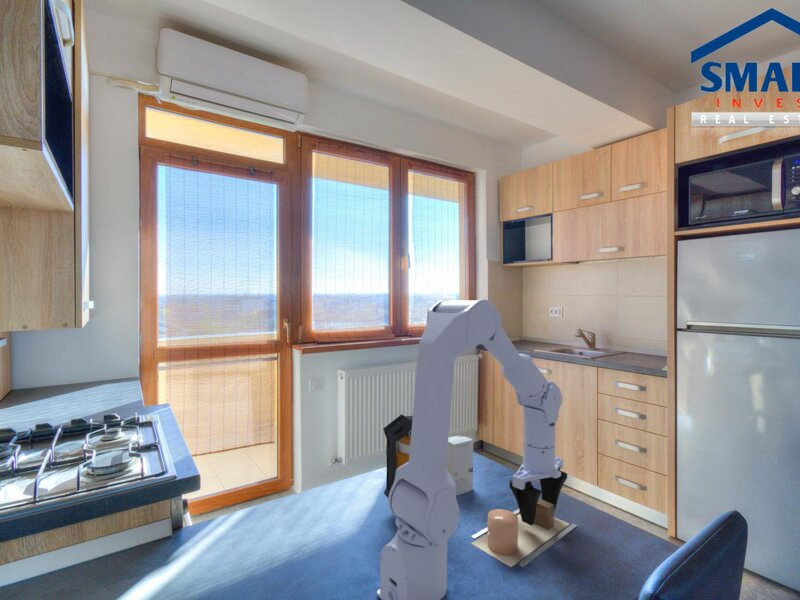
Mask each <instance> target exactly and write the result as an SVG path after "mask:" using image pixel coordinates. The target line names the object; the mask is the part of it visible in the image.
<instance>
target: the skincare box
mask: <svg viewBox="0 0 800 600" xmlns="http://www.w3.org/2000/svg"><path fill="white" fill-rule="evenodd" d="M446 467H447V470H448V472H449V473H450V475H451V477H452V479H453V481H454V483H455V485H456V496H459V495H462V494H465V493H469V492H471V491H473V490H474V439H472V438H470V437H467V436H464V435H462V434H461V435H454V436H453V435H452V436H450V437H449V436H448V448H447V461H446Z"/></svg>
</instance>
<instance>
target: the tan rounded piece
mask: <svg viewBox="0 0 800 600" xmlns="http://www.w3.org/2000/svg"><path fill="white" fill-rule="evenodd" d="M513 512H514V511H511V510H507V509H503V508H497V509H496V508H494V509H491V510H490V511H489V512H488V513H487V527H488V532H487V533H488V547H489V549H490V550H491V551H493V552H494V553H496V554H499V555H505V556H509V555H513V554H515V553H516V552H517V551H518V517H517V514H516V515H515V514H514V513H513Z"/></svg>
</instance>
